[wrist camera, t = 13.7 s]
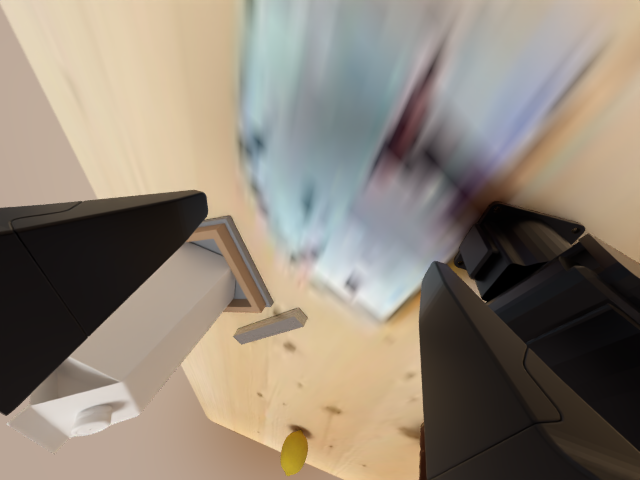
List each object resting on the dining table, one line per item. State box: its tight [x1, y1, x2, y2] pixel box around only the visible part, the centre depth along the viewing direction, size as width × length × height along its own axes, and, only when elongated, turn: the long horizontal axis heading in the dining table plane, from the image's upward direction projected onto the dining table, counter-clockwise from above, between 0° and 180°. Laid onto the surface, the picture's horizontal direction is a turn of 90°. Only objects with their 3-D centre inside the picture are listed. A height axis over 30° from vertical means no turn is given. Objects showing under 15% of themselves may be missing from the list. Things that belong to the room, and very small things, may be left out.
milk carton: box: [7, 242, 236, 454], centre depth 24 cm, size 7×7×19 cm
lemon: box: [281, 430, 308, 476], centre depth 51 cm, size 6×6×8 cm
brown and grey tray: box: [186, 216, 273, 313], centre depth 32 cm, size 14×14×2 cm
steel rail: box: [233, 308, 307, 344], centre depth 35 cm, size 14×2×2 cm, turn 127°
